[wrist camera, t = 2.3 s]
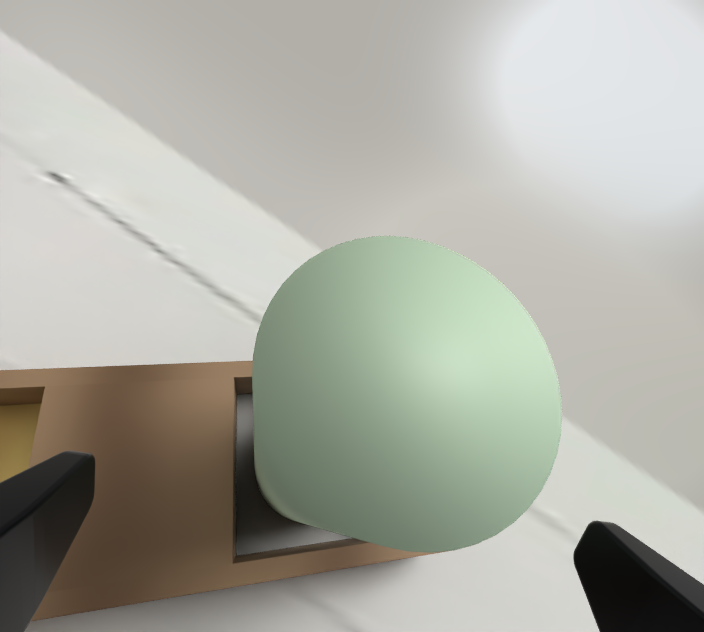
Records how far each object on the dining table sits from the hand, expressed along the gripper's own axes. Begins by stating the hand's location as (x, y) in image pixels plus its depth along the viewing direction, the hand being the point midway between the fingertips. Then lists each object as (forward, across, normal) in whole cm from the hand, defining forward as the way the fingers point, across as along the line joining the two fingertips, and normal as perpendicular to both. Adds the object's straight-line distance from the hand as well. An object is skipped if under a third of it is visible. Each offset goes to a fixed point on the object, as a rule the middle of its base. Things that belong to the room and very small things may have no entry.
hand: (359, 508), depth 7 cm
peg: (+8, 0, +5) cm, 9 cm away
